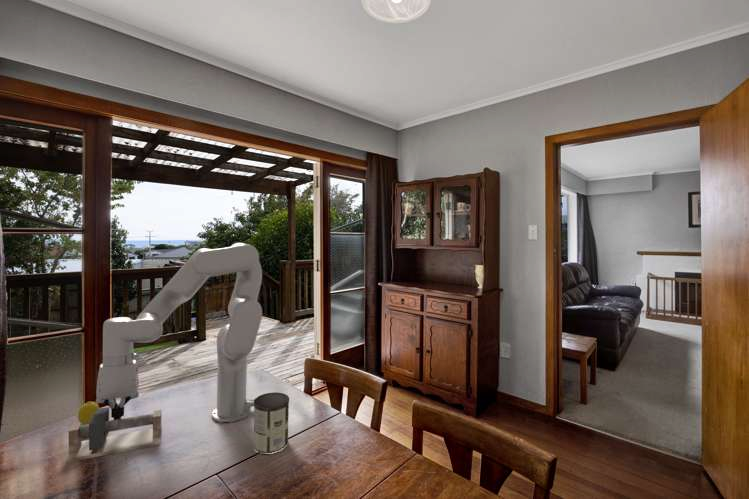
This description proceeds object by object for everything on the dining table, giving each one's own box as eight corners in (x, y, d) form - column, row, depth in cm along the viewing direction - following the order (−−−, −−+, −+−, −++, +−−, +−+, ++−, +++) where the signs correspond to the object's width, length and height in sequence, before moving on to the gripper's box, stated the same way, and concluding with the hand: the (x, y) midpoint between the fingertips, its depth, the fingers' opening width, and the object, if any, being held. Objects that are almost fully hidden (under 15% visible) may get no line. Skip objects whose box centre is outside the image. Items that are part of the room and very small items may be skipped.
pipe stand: (161, 429, 117) (162, 406, 117) (159, 444, 109) (159, 419, 109) (75, 444, 107) (75, 419, 107) (65, 462, 99) (65, 435, 99)
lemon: (87, 431, 115) (87, 406, 114) (73, 429, 116) (73, 404, 115) (104, 422, 120) (104, 398, 120) (90, 420, 121) (90, 396, 121)
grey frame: (108, 431, 111) (108, 407, 111) (102, 447, 103) (102, 421, 103) (96, 433, 110) (96, 409, 109) (89, 450, 102) (89, 423, 101)
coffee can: (269, 432, 118) (269, 389, 117) (295, 441, 113) (296, 396, 113) (245, 449, 108) (246, 402, 108) (272, 459, 104) (273, 410, 103)
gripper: (148, 352, 117) (148, 409, 117) (90, 358, 110) (90, 417, 111) (146, 360, 110) (145, 420, 111) (83, 366, 103) (83, 430, 104)
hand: (117, 418), depth 111 cm, fingers closed
